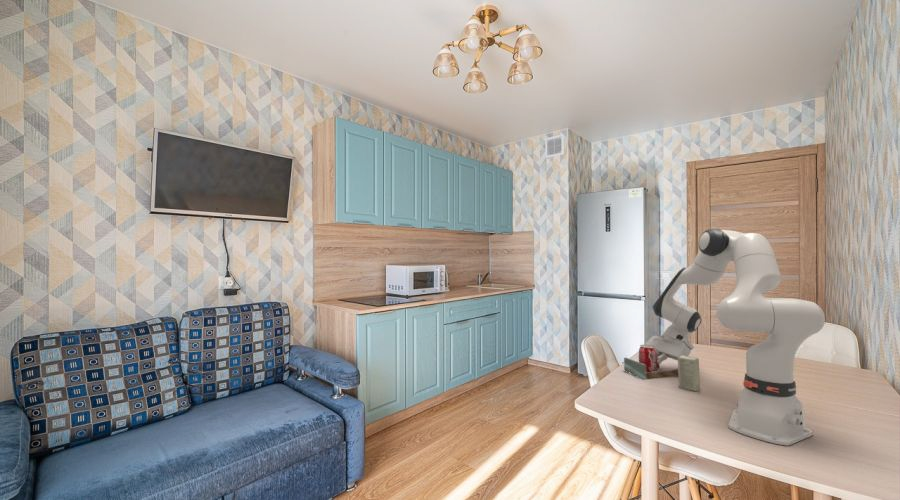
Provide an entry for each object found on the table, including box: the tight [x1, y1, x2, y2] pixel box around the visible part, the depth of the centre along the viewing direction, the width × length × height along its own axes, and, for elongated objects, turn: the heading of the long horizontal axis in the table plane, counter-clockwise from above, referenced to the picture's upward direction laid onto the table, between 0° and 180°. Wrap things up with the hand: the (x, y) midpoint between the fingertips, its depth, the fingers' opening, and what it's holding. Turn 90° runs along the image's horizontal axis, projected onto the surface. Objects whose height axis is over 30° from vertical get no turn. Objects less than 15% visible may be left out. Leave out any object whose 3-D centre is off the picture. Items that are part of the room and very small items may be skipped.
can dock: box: [623, 357, 679, 380], centre depth 163 cm, size 18×12×6 cm, turn 104°
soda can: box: [638, 344, 658, 372], centre depth 163 cm, size 7×7×12 cm
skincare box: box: [677, 355, 701, 392], centre depth 144 cm, size 6×4×12 cm
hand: (656, 361), depth 164 cm, fingers closed
